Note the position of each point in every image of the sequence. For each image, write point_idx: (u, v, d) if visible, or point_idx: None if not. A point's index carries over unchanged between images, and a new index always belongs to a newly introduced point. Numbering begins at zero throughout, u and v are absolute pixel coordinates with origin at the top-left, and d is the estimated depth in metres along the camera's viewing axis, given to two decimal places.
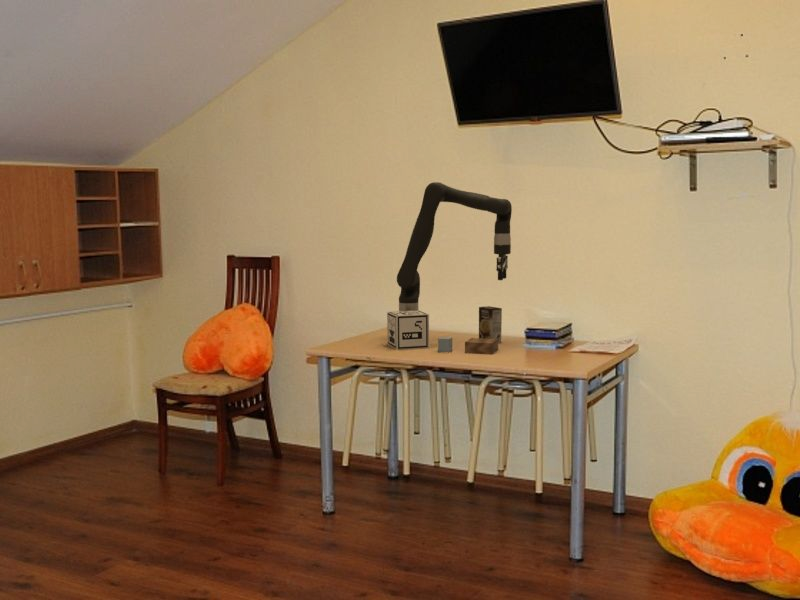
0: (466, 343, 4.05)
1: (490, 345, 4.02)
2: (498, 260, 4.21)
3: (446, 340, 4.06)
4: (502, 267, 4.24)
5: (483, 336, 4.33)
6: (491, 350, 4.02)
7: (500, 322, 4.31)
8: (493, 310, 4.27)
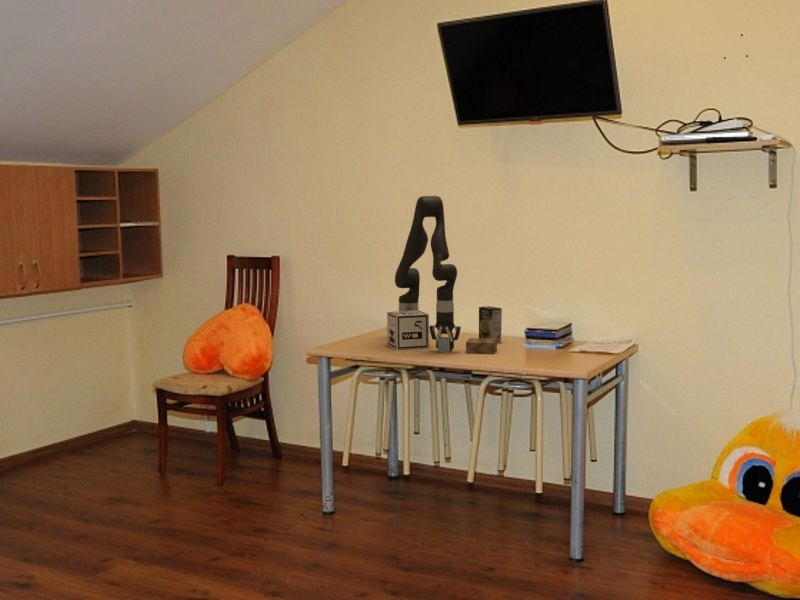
0: (467, 343, 4.04)
1: (492, 345, 4.02)
2: (459, 330, 4.06)
3: (446, 340, 4.06)
4: None
5: (483, 336, 4.33)
6: (493, 350, 4.03)
7: (500, 322, 4.31)
8: (493, 310, 4.27)
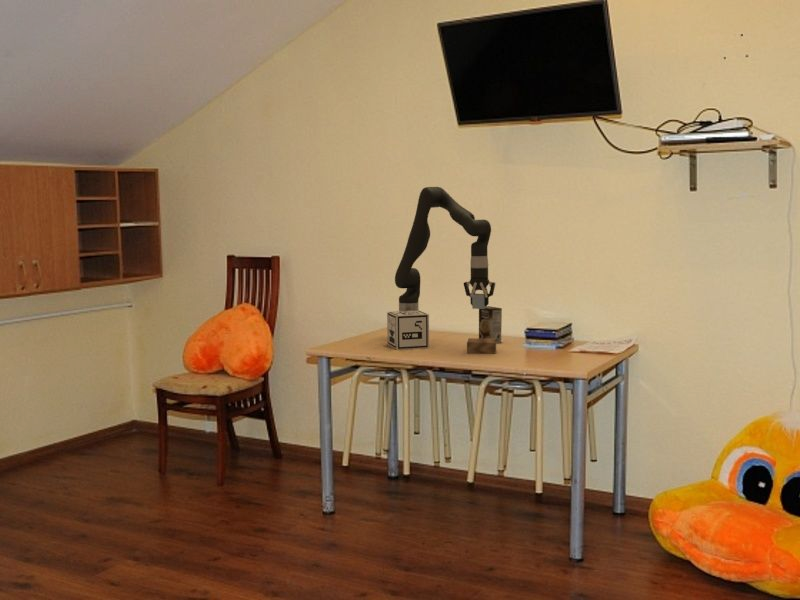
0: (468, 343, 4.04)
1: (493, 345, 4.03)
2: (494, 286, 4.04)
3: (480, 296, 4.04)
4: (487, 292, 4.06)
5: (483, 336, 4.33)
6: (494, 350, 4.03)
7: (500, 322, 4.31)
8: (493, 310, 4.27)
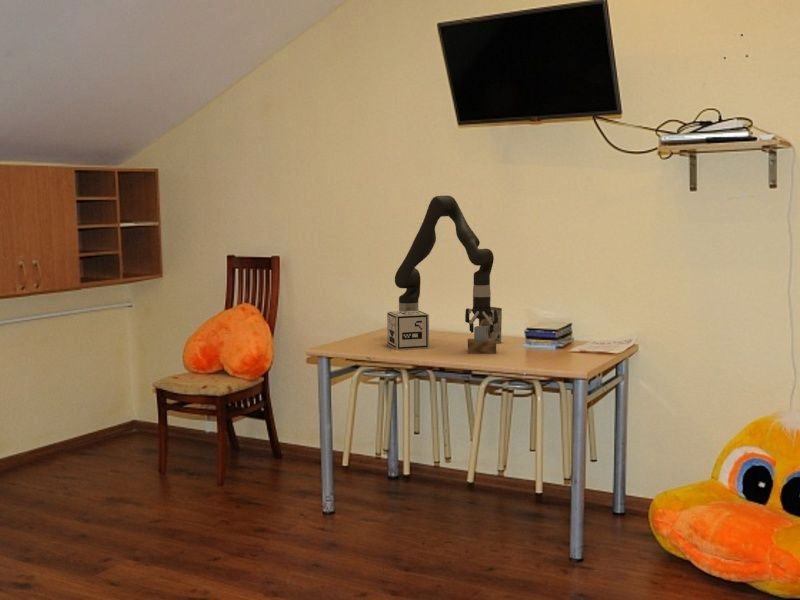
0: (469, 344, 4.04)
1: (494, 345, 4.03)
2: (497, 312, 4.05)
3: (482, 329, 4.06)
4: None
5: None
6: (495, 350, 4.03)
7: (500, 322, 4.31)
8: None
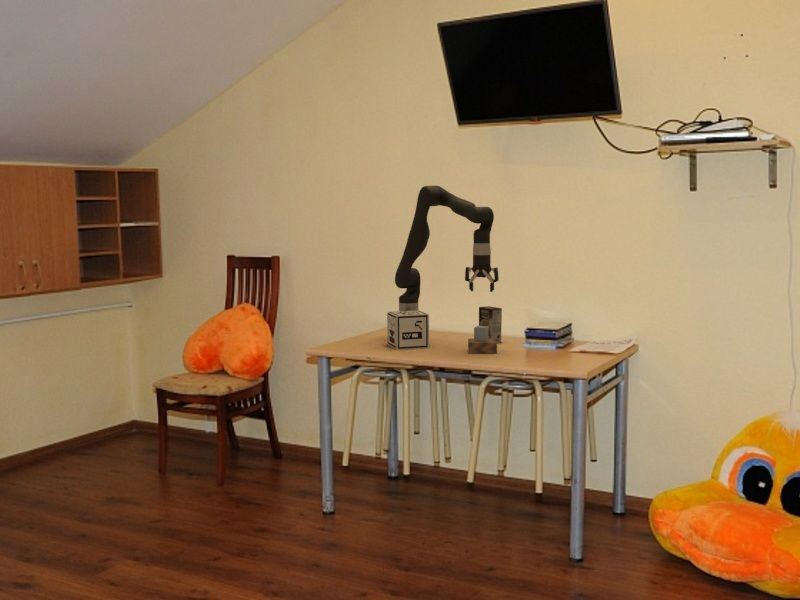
0: (470, 344, 4.03)
1: (494, 345, 4.03)
2: (497, 270, 4.03)
3: (482, 329, 4.06)
4: (492, 278, 4.06)
5: None
6: (495, 350, 4.03)
7: (500, 322, 4.31)
8: (493, 310, 4.27)
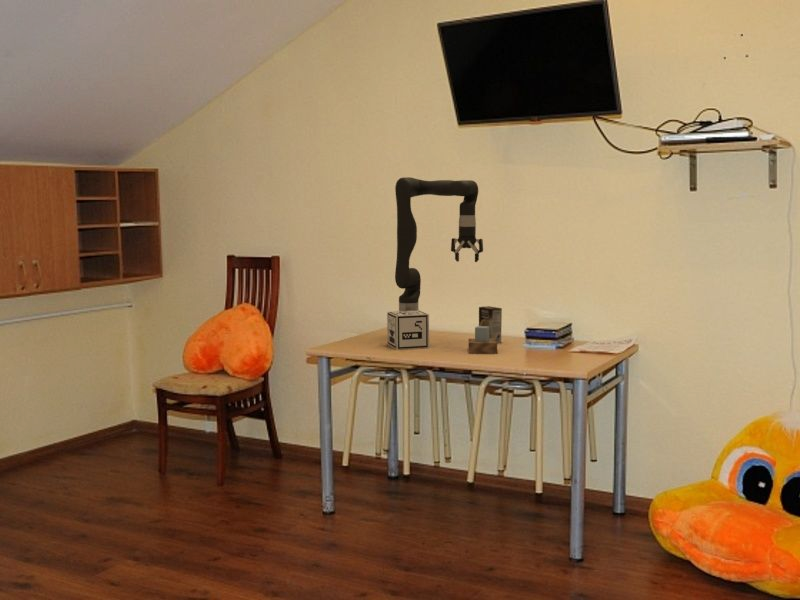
0: (470, 344, 4.03)
1: (495, 345, 4.03)
2: (481, 241, 4.21)
3: (483, 329, 4.06)
4: None
5: None
6: (496, 350, 4.03)
7: (500, 322, 4.31)
8: (493, 310, 4.27)
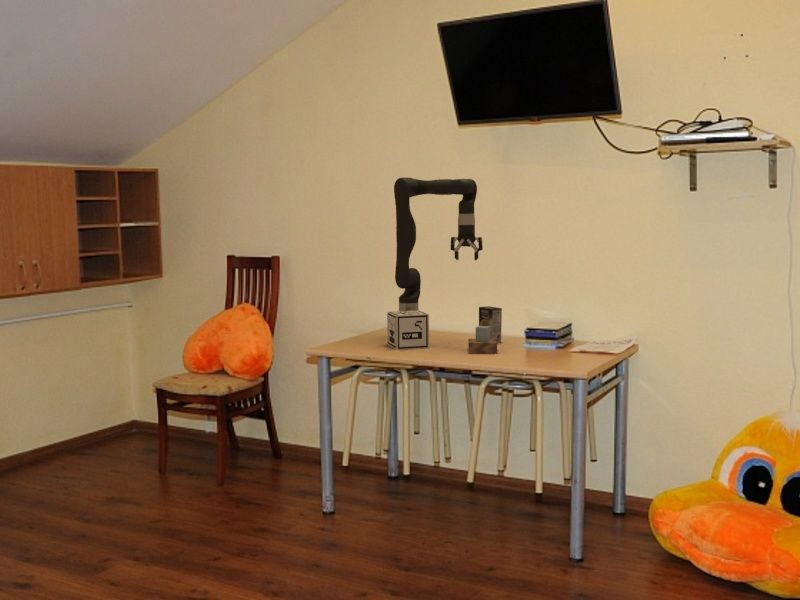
0: (470, 344, 4.03)
1: (495, 345, 4.03)
2: (481, 240, 4.21)
3: (483, 329, 4.06)
4: (476, 247, 4.24)
5: None
6: (496, 350, 4.03)
7: (500, 322, 4.31)
8: (493, 310, 4.27)
